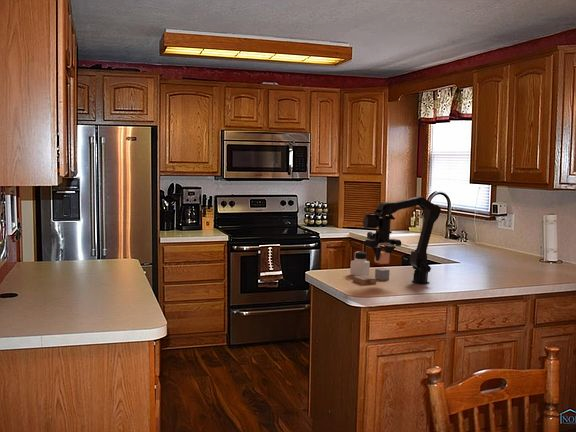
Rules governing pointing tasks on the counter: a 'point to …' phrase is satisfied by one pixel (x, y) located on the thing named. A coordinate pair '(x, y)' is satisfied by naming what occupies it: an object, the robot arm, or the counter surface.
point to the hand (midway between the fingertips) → (381, 260)
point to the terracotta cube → (383, 258)
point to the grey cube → (382, 274)
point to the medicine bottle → (360, 265)
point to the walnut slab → (364, 280)
